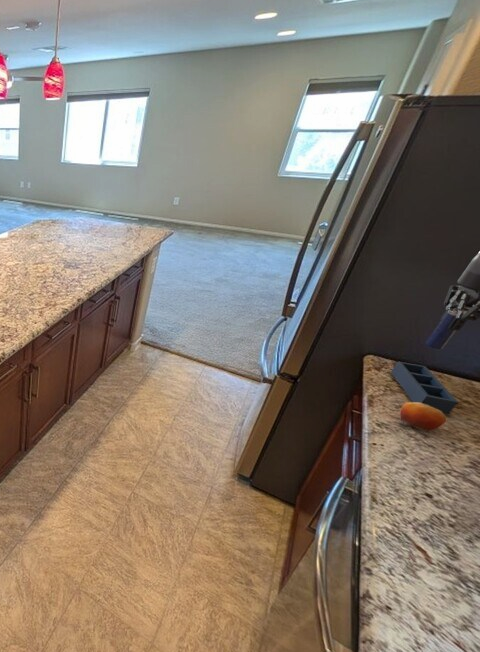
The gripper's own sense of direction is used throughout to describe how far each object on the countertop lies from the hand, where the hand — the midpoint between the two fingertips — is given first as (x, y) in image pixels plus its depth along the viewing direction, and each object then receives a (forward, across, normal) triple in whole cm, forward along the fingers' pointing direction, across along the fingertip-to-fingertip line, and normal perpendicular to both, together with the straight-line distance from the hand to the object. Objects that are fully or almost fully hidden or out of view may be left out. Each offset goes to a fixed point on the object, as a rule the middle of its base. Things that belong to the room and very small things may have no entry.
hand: (448, 325), depth 111 cm
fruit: (+21, -23, +7) cm, 32 cm away
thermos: (+7, 0, 0) cm, 7 cm away
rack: (+21, -5, 0) cm, 22 cm away
